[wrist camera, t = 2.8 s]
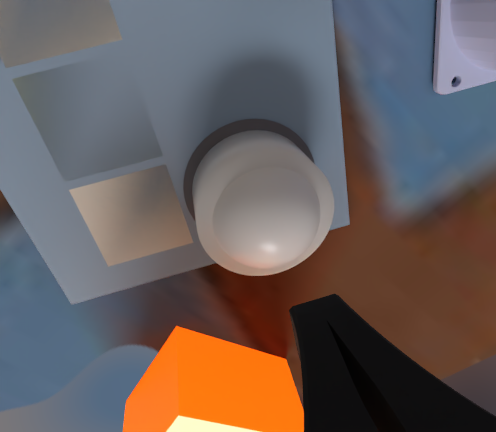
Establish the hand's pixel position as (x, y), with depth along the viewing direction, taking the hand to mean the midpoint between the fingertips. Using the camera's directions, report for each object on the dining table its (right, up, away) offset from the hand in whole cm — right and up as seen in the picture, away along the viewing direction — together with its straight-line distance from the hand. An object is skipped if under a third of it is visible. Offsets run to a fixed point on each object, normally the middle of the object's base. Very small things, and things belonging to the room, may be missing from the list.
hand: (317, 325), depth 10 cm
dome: (-2, +4, +8) cm, 9 cm away
